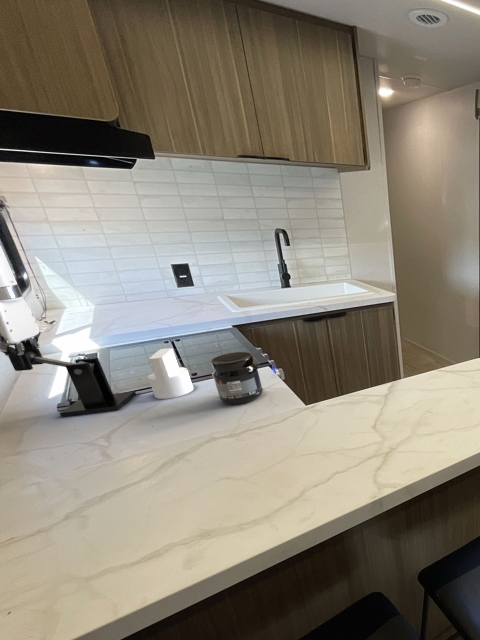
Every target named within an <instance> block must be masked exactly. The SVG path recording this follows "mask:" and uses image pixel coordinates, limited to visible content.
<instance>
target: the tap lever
mask: <svg viewBox="0 0 480 640" xmlns="http://www.w3.org/2000/svg"><path fill="white" fill-rule="evenodd" d="M23 352H24V354H27V356H28V358H29V360H30V362H31V364H32V363H34V362H40V363H44V364H47V365H52V366H57V367H63V368H66V365H68V364H78V363H88V362H83V361H80V362H78V363H76V362H75V363H74V362H69V361H64V360H58V359H52V358H47V357H43V356H42V357H43V358H42V357H37V355H36V354H35V353H34V352H32V351H23ZM89 364H90V366H91V369H92V371H94V363H89Z"/></svg>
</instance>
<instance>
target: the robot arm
mask: <svg viewBox="0 0 480 640" xmlns="http://www.w3.org/2000/svg"><path fill="white" fill-rule="evenodd" d="M40 336H41V331H40V328H39V325H38V322H37V320H36V317H35V316H34V314H33V312H32V310H31V308H30V306H29V305H28V304H27V302H26V300H25V299H24V296H23V293H22V291H21V289H20V287H19V284H18V282H17V279H16V278H15V275H14V273H13V270H12V269H11V266H10V264H9V261H8V259H7V256H6V255H5V252H4V250H3V247H2V246H1V245H0V352H1V353H2V354H4V356H6V357H8V359H9V361H10V363H11V365H12V367H13V370H14V371H15V372H24V371H31V370H33V368H34V367H33V366H37V365H44V364H45V363H40V362H34V363H32V364H31V362H30V360H29V358H28V356H27V354H24V352H23V351H32V352H34V353H35V354H36V355H37V357H42V358H44V357H43V355H42V352H41V351H40V349H39V348H40V344H39V338H40Z"/></svg>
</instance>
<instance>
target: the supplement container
mask: <svg viewBox="0 0 480 640" xmlns="http://www.w3.org/2000/svg"><path fill="white" fill-rule="evenodd" d="M210 364H211V366H212V369H213V370H212V372H211V376H212V378H213V380H214V383H215V386H216V390H217V394H218V397H219V398H218V399H219V400H220V401H221V402H222V403H223V404H226V405H231V406H232V405H241V404H246V403H249V402H253V401H255V400H257V399H258V398H260V397H261V396H262V395H263V392H264V388H263V386H262V385H263V384H262V382H261V378H260V373H259V370H258V365H257V364H256V363H255V362H254V357H253V354H252V353H250V352H247V351H237V352H230V353H225V354H221V355H218V356H216V357H214V358H212V359H211V360H210Z"/></svg>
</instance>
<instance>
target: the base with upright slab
mask: <svg viewBox="0 0 480 640" xmlns="http://www.w3.org/2000/svg"><path fill="white" fill-rule="evenodd" d="M148 361H149V364H150V366H151V369H152V373H150V374H149V375H147V379H148V382H149V384H150V387H151V390H152V392H153V395H154V397H155V398H156V399H159V400H166V399H174V398H178V397H181V396H185V395H187V394H189V393H191V392H192V391H193V390H194V385H193V382H192V379H191V377H190V373H189V370H188V368H187V367H182V366H181V367H180V366H179V364H178V361H177V357H176V355H175V352H174V348H173V347H169V348H160V349H159V350H157V351H156V352H155V353H153V354H152V355H151V356H150V357H148Z"/></svg>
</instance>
